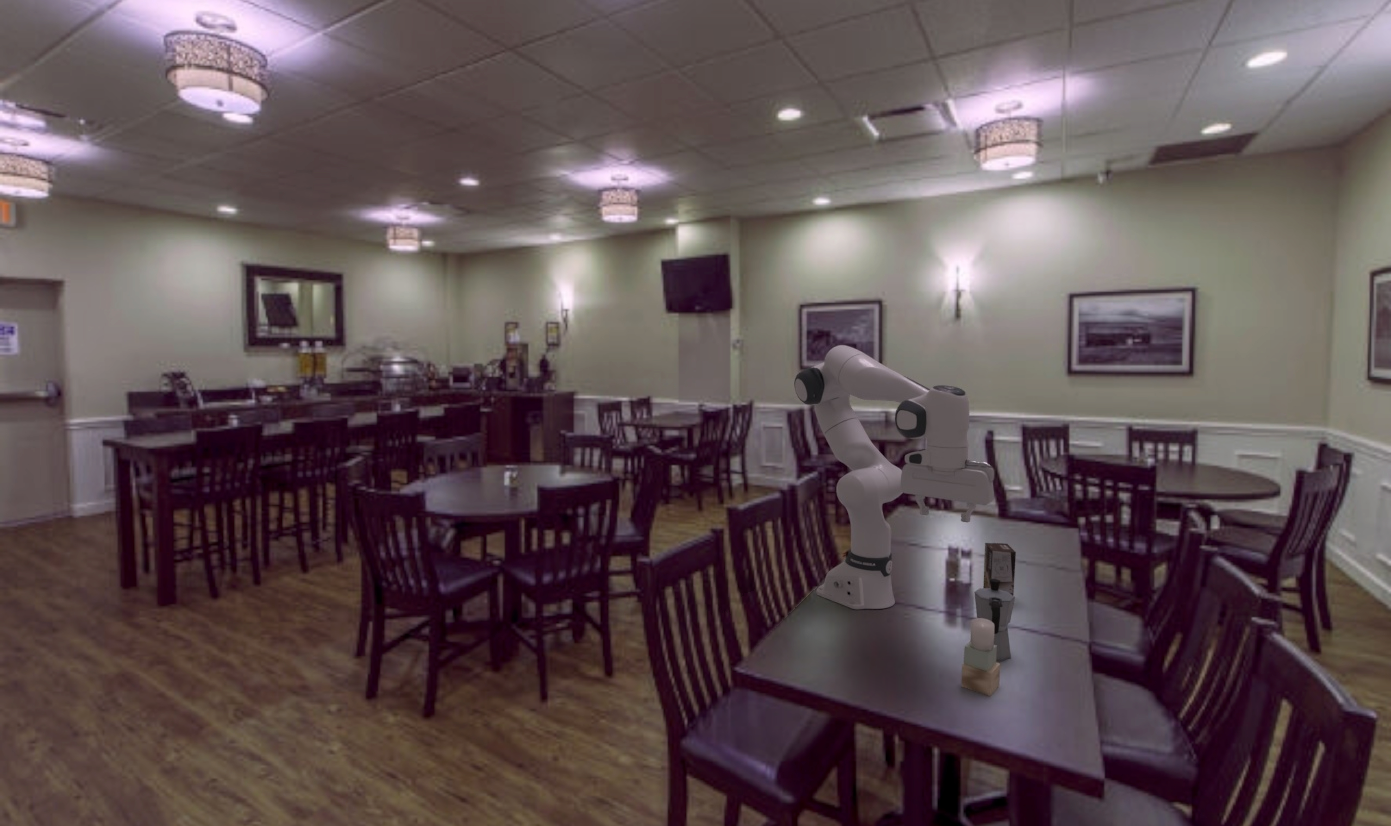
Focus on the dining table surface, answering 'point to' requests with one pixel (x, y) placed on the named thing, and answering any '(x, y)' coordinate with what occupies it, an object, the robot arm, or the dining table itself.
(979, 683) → the tower base
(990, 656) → the tower top
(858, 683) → the dining table surface
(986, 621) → the grey rounded cylinder
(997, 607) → the coffee maker
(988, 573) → the coffee box
